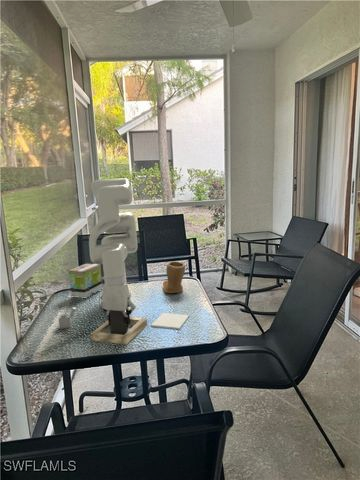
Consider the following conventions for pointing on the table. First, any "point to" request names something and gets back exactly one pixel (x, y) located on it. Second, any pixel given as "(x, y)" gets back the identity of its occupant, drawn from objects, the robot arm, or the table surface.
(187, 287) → the table surface
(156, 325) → the cream mat
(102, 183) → the robot arm
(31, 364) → the table surface
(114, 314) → the phone stand
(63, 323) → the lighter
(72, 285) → the tea box
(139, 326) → the wooden frame
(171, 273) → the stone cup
